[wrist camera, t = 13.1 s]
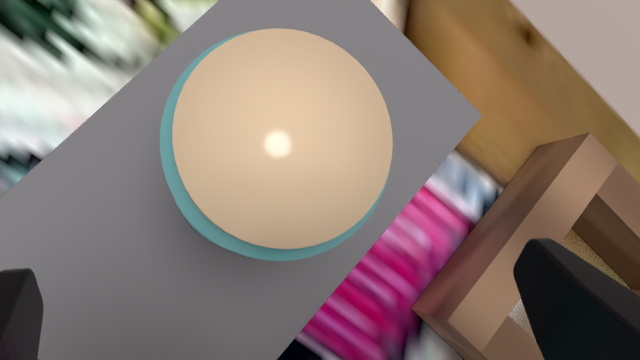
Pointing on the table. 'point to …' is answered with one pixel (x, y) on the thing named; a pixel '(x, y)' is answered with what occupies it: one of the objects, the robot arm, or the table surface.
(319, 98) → the teal jar
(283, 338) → the gray rectangular panel
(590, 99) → the table surface
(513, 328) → the walnut frame
